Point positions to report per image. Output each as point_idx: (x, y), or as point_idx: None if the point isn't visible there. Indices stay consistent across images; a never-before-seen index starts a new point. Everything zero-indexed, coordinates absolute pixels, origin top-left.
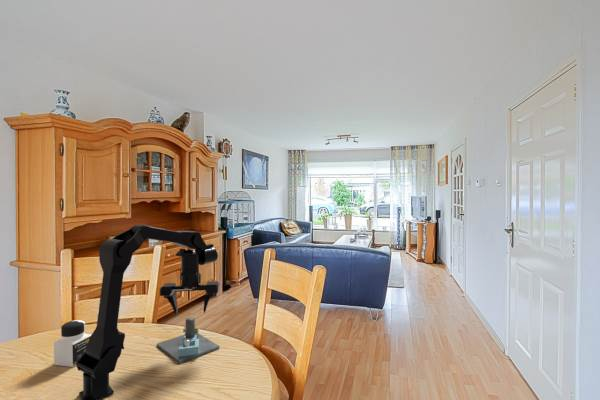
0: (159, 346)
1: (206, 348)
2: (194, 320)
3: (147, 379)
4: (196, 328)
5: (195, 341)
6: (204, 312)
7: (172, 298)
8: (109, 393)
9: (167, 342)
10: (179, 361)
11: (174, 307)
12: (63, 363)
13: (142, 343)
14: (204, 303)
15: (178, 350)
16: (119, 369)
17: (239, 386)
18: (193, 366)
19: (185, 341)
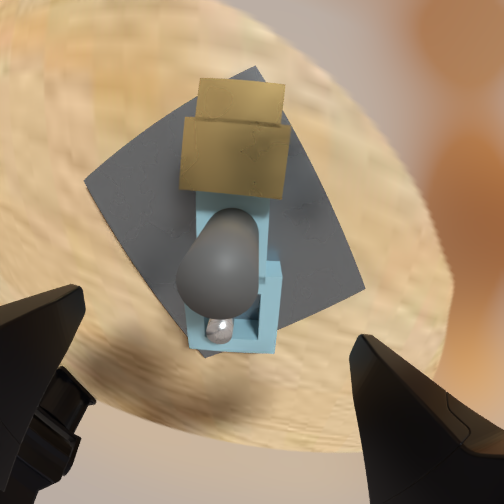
0: (99, 206)
1: (309, 296)
2: (256, 291)
3: (138, 386)
4: (270, 196)
5: (261, 303)
6: (355, 363)
7: (7, 473)
8: (91, 404)
9: (123, 177)
10: (204, 356)
11: (41, 380)
12: None
13: (43, 142)
14: (369, 470)
15: None
16: None
17: (344, 440)
18: (253, 375)
19: (212, 341)
